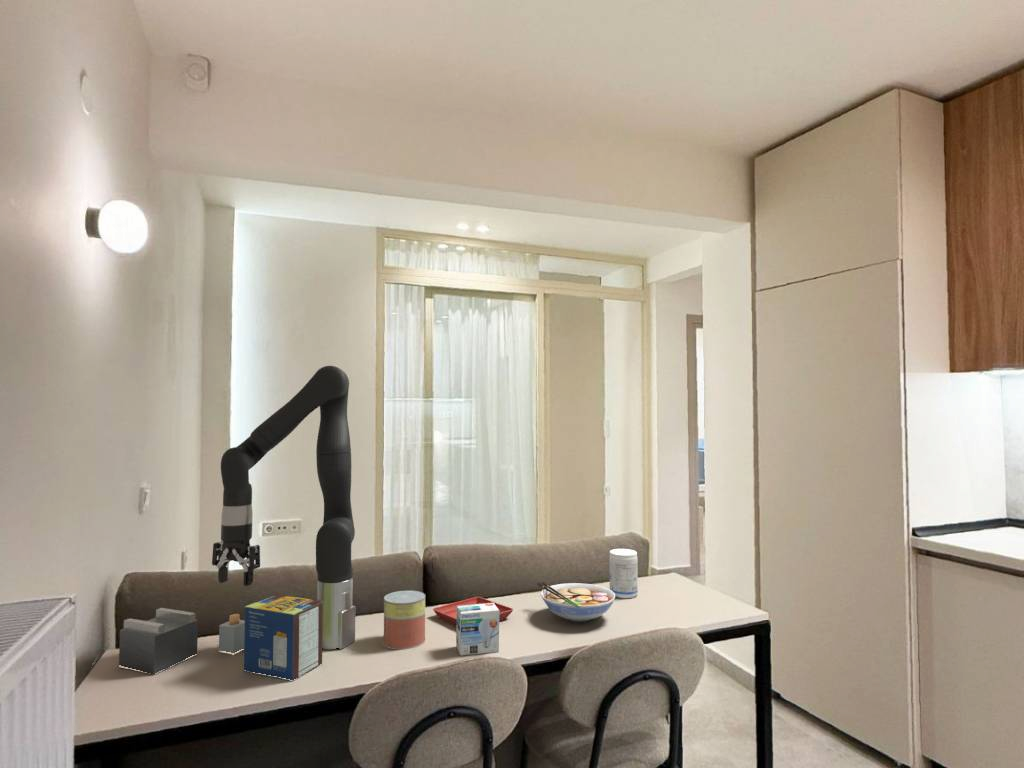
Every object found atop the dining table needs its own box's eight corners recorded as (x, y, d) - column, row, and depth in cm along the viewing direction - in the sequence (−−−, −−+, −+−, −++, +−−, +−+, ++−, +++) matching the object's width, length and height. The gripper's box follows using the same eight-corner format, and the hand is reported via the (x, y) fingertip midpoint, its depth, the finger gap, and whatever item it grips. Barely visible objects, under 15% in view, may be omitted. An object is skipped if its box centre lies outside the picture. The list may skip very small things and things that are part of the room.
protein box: (274, 655, 149) (275, 593, 150) (322, 664, 144) (323, 600, 145) (242, 671, 140) (243, 606, 140) (292, 682, 134) (293, 613, 135)
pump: (248, 648, 154) (249, 613, 154) (233, 655, 149) (234, 619, 150) (234, 645, 156) (234, 611, 156) (218, 652, 151) (219, 617, 151)
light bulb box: (459, 656, 148) (460, 613, 149) (455, 646, 154) (455, 605, 155) (500, 651, 151) (500, 609, 151) (494, 642, 157) (494, 601, 158)
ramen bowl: (633, 626, 168) (632, 598, 169) (562, 638, 160) (562, 607, 160) (590, 601, 192) (590, 576, 192) (527, 610, 183) (527, 584, 184)
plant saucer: (431, 618, 177) (431, 607, 177) (477, 605, 189) (477, 595, 189) (467, 635, 163) (467, 623, 164) (514, 620, 175) (514, 609, 175)
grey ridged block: (197, 655, 149) (198, 611, 150) (153, 675, 138) (155, 627, 138) (163, 649, 153) (164, 606, 154) (118, 667, 142) (120, 621, 143)
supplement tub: (608, 590, 204) (608, 548, 205) (636, 591, 203) (635, 548, 204) (610, 598, 194) (610, 554, 195) (639, 599, 193) (638, 555, 194)
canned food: (431, 635, 162) (432, 592, 163) (414, 651, 151) (414, 604, 152) (395, 631, 165) (395, 589, 166) (375, 647, 154) (376, 601, 155)
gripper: (268, 521, 155) (266, 582, 154) (228, 517, 160) (226, 577, 159) (246, 526, 148) (244, 590, 147) (205, 522, 153) (203, 584, 152)
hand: (235, 583), depth 153 cm, fingers open, 8 cm apart
